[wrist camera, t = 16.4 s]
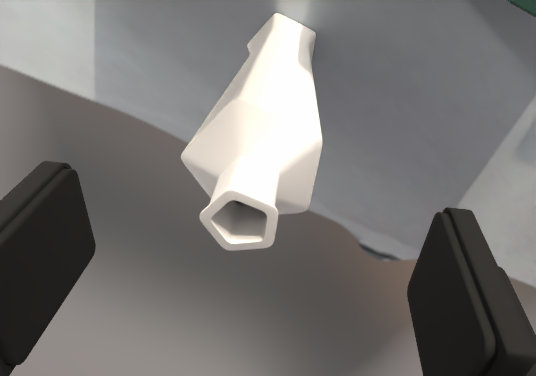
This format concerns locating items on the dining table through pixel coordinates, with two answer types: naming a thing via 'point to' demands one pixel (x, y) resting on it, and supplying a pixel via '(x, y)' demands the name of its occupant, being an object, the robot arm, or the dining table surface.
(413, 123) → the dining table surface
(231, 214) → the perfume bottle
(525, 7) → the tin
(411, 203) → the dining table surface
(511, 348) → the robot arm
